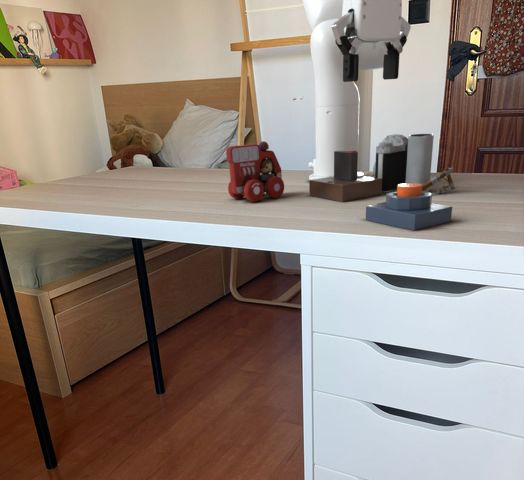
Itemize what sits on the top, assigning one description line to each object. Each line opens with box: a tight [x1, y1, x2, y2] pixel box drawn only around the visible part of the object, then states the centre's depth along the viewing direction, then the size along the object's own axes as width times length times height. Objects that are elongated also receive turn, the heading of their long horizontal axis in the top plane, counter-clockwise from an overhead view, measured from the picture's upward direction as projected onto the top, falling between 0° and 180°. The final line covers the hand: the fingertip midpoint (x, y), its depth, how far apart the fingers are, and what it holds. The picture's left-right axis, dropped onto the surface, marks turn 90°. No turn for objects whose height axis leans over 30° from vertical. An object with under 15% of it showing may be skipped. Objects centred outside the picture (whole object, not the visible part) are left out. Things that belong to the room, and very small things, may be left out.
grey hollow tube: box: [406, 133, 435, 192], centre depth 101 cm, size 4×4×10 cm
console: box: [308, 175, 383, 203], centre depth 103 cm, size 10×10×3 cm
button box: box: [365, 190, 453, 231], centre depth 80 cm, size 10×8×4 cm
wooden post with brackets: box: [422, 167, 456, 194], centre depth 99 cm, size 2×8×4 cm, turn 106°
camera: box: [372, 133, 408, 193], centre depth 108 cm, size 15×7×10 cm, turn 131°
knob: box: [334, 150, 359, 181], centre depth 101 cm, size 5×2×5 cm, turn 33°
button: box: [396, 183, 422, 197], centre depth 79 cm, size 4×4×2 cm
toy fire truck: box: [225, 141, 285, 203], centre depth 103 cm, size 7×12×10 cm, turn 128°
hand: (370, 80), depth 93 cm, fingers open, 9 cm apart
